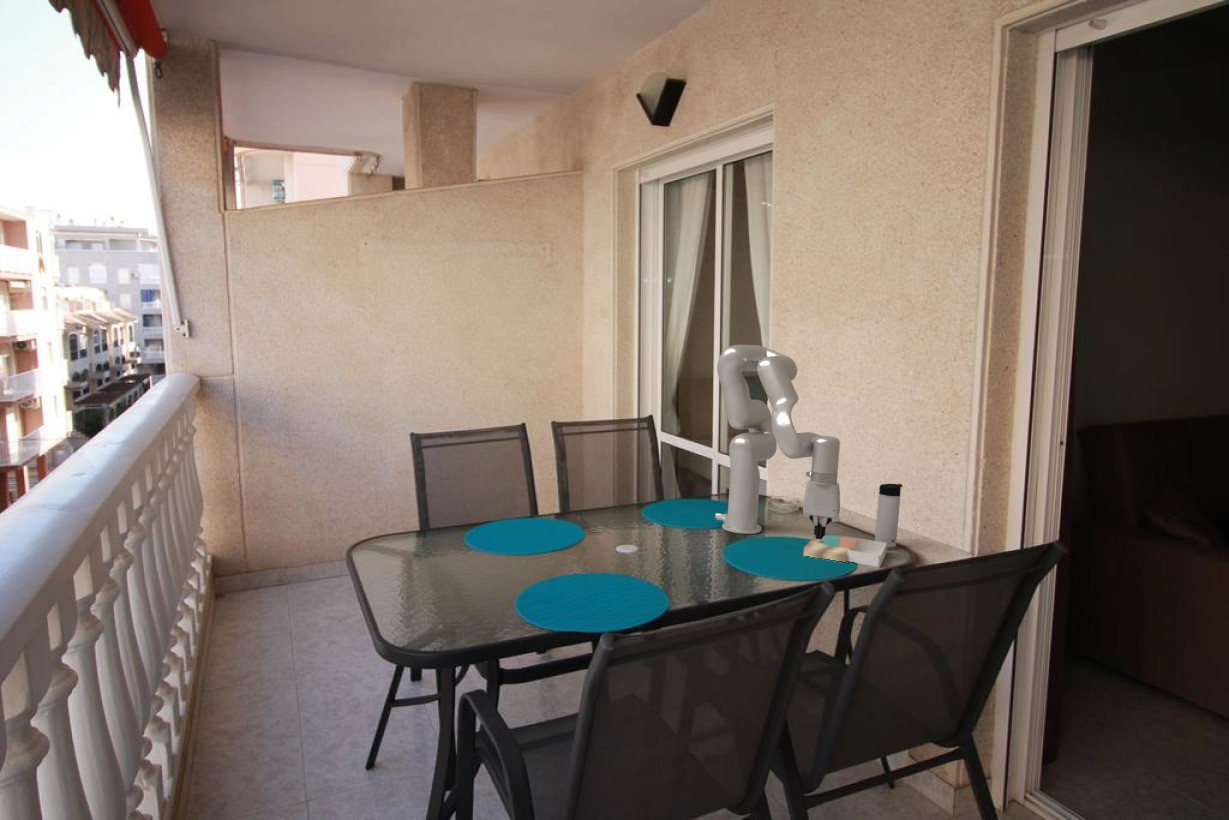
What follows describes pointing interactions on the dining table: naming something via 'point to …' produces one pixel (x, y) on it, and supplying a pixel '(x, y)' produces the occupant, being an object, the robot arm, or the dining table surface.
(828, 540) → the tile teal
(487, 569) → the dining table surface
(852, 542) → the tile terracotta
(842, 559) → the board
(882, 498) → the travel mug
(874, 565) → the tray
